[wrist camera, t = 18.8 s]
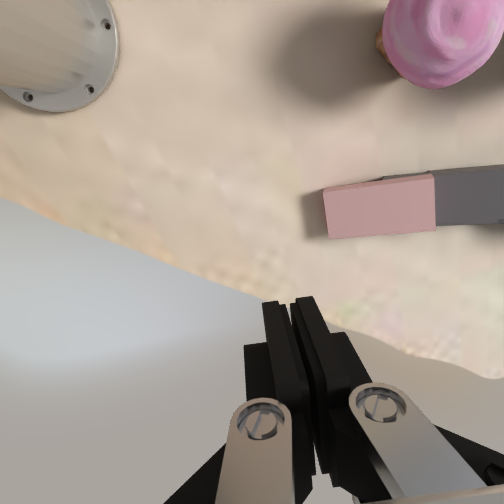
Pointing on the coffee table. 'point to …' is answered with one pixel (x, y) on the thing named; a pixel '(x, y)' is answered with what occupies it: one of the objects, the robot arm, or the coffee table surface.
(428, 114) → the coffee table surface
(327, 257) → the coffee table surface
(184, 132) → the coffee table surface
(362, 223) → the rose domino
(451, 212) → the domino
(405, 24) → the cupcake
